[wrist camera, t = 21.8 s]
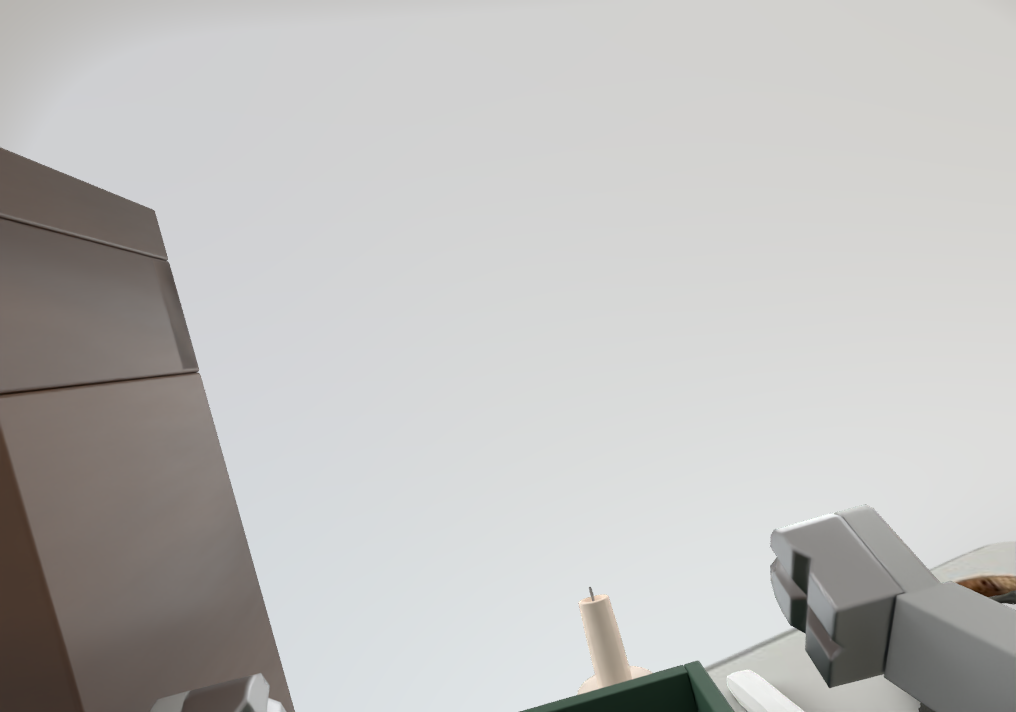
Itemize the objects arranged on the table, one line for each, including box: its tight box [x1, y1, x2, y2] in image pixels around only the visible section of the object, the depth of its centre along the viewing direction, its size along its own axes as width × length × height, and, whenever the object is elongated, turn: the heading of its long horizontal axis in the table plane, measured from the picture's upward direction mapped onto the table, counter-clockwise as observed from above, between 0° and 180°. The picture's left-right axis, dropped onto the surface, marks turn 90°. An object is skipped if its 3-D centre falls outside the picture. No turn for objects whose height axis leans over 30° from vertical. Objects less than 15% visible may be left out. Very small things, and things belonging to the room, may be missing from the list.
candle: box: [577, 587, 652, 695], centre depth 33 cm, size 5×5×10 cm
